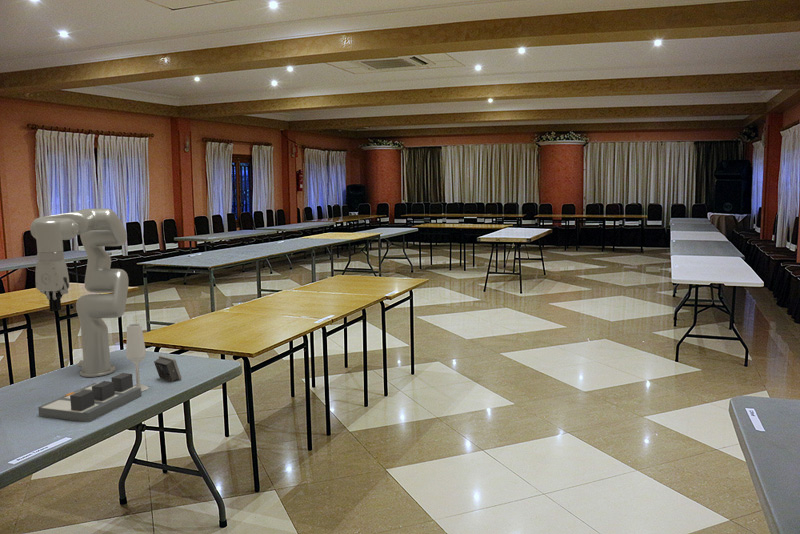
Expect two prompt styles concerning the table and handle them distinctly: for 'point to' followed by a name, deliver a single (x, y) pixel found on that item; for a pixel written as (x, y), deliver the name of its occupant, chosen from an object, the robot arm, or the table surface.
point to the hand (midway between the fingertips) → (55, 310)
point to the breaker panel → (92, 411)
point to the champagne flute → (136, 349)
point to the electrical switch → (167, 368)
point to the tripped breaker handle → (103, 390)
